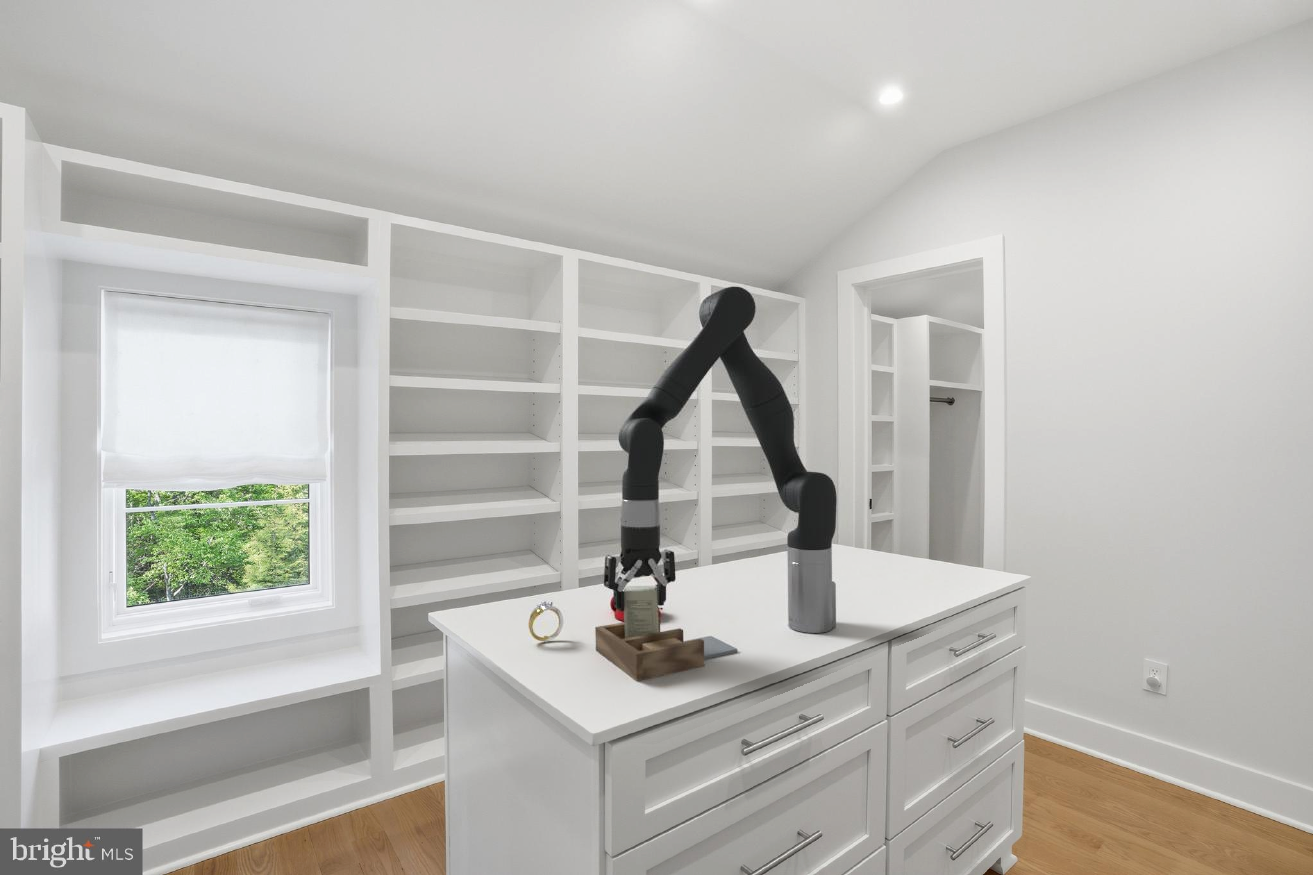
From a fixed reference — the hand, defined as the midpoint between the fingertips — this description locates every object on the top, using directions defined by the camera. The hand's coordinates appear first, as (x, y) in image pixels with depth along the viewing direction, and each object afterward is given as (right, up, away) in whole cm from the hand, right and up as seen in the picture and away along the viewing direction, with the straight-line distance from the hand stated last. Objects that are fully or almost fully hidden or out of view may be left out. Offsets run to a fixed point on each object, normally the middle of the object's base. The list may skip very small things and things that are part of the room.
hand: (640, 607), depth 118 cm
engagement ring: (-19, -9, +7) cm, 22 cm away
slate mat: (+12, -8, +1) cm, 15 cm away
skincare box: (0, -9, 0) cm, 9 cm away
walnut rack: (+2, -8, -3) cm, 9 cm away
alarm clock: (-2, -9, +25) cm, 27 cm away
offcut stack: (+5, -9, -6) cm, 12 cm away
